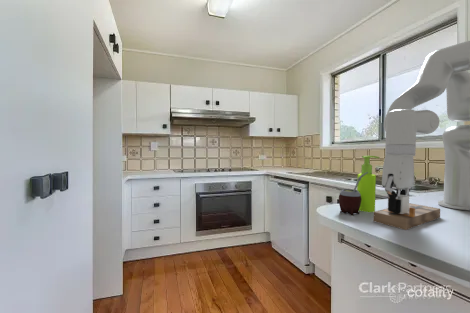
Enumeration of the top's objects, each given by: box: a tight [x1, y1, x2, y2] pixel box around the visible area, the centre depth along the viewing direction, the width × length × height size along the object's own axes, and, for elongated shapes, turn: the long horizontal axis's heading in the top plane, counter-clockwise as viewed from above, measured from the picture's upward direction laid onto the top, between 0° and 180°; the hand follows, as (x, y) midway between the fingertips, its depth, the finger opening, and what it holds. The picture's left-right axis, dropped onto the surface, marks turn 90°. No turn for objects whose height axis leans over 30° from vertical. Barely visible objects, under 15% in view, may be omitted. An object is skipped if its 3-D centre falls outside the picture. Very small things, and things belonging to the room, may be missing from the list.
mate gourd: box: [338, 172, 368, 217], centre depth 82 cm, size 8×8×15 cm
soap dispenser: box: [356, 155, 380, 213], centre depth 86 cm, size 6×7×20 cm
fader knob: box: [390, 195, 410, 214], centre depth 72 cm, size 4×4×5 cm
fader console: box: [372, 202, 441, 231], centre depth 76 cm, size 23×9×6 cm, turn 121°
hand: (398, 210), depth 72 cm, fingers closed on fader knob, 4 cm apart
